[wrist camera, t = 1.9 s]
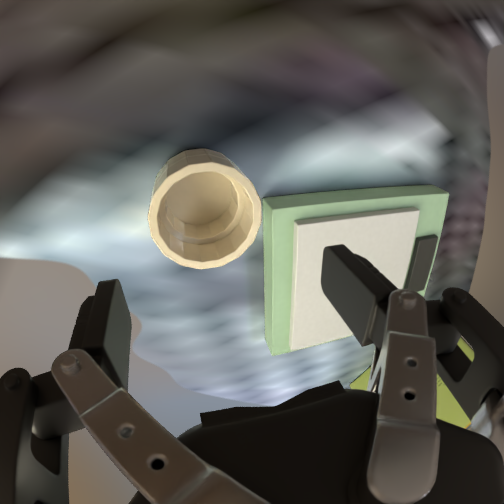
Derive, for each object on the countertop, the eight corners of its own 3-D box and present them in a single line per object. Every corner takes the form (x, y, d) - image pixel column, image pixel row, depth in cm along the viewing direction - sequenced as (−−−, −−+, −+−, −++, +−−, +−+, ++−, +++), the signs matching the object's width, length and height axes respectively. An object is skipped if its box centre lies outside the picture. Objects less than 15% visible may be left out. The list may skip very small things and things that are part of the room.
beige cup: (147, 154, 19) (140, 171, 15) (240, 143, 20) (260, 157, 16) (160, 238, 22) (159, 276, 18) (244, 226, 23) (262, 260, 19)
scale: (262, 197, 22) (275, 213, 20) (432, 184, 26) (455, 196, 23) (264, 338, 29) (274, 362, 26) (406, 302, 32) (421, 318, 30)
